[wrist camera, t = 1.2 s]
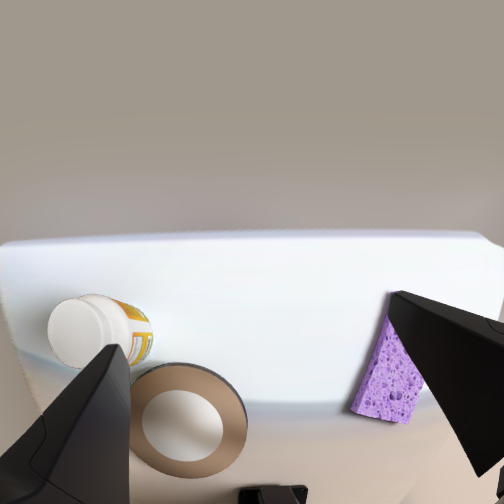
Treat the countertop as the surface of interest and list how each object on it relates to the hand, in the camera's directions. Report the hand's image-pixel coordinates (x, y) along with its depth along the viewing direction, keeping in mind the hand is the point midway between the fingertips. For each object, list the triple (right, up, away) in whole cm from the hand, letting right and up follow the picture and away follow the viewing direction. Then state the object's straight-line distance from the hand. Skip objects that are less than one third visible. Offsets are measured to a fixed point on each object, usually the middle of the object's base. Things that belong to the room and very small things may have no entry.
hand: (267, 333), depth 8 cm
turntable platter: (-6, -12, +12) cm, 18 cm away
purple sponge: (+14, -8, +16) cm, 23 cm away
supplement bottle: (-11, -5, +14) cm, 19 cm away
